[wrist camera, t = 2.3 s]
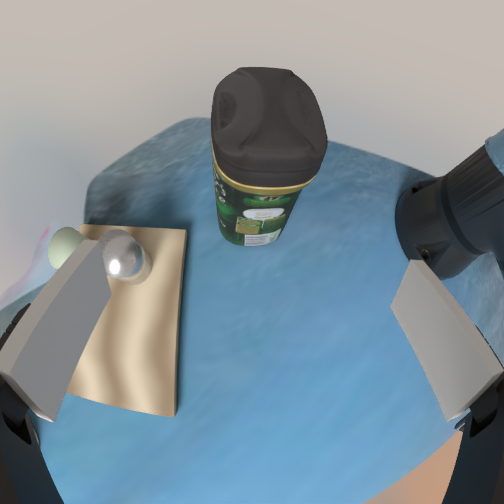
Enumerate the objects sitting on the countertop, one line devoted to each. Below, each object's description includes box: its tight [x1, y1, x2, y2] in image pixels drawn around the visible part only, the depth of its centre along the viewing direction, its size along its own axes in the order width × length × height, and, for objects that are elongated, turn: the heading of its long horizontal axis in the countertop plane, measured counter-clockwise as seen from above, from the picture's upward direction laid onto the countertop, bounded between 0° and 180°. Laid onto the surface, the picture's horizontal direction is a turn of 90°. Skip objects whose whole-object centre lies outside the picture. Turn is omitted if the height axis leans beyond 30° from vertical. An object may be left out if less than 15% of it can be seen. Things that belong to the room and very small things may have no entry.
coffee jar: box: [211, 67, 328, 246], centre depth 24 cm, size 10×8×19 cm
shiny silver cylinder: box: [98, 229, 152, 285], centre depth 26 cm, size 4×4×6 cm
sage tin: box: [48, 227, 90, 269], centre depth 25 cm, size 4×4×6 cm
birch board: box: [66, 224, 187, 417], centre depth 27 cm, size 14×21×2 cm, turn 177°
